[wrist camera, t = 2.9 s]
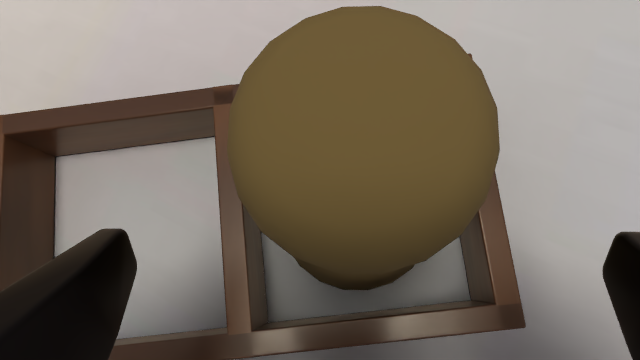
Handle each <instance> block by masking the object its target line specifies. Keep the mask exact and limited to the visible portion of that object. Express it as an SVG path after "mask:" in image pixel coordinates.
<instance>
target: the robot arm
mask: <svg viewBox="0 0 640 360" xmlns="http://www.w3.org/2000/svg"><path fill="white" fill-rule="evenodd" d="M136 271H137V262H136V258H135V255H134V252H133V249H132V246H131V243H130V240H129V237H128V235H127V233H126V231H125V230H123V229H101V230H99V231H98V232H96V233H94V234H93V235H91V236H90V237H88V238H86V239H85V240H83V241H81V242H80V243H78V244H77V245H75V246H73V247H72V248H70V249H68V250H67V251H65V252H64V253H62V254H60V255H59V256H57V257H55V258H54V259H52V260H50V261H49V262H47V263H46V264H44V265H42V266H41V267H39V268H37V269H36V270H34V271H33V272H31V273H29V274H28V275H26V276H24V277H23V278H21V279H20V280H18V281H16V282H15V283H13V284H11V285H10V286H8V287H7V288H5V289H3V290H2V291H0V360H108V359H109V357H110V354H111V352H112V349H113V347H114V344H115V341H116V338H117V335H118V332H119V329H120V325H121V322H122V319H123V315H124V312H125V309H126V305H127V302H128V299H129V296H130V292H131V289H132V286H133V282H134V279H135V276H136ZM603 279H604V282H605V285H606V287H607V290H608V293H609V296H610V299H611V302H612V304H613V307H614V310H615V313H616V316H617V319H618V321H619V324H620V327H621V330H622V333H623V335H624V338H625V341H626V344H627V346H628V349H629V352H630V354H631V357H632V359H633V360H640V232H620V233H618V234H617V235H616V236H615V238H614V240H613V242H612V245H611V247H610V250H609V252H608V255H607V257H606V260H605V262H604V265H603Z"/></svg>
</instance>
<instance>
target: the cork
mask: <svg viewBox="0 0 640 360" xmlns="http://www.w3.org/2000/svg"><path fill="white" fill-rule="evenodd" d="M499 150H500V146H499V130H498V115H497V107H496V104H495V102H494V99H493V97H492V95H491V92H490V90H489V87H488V85H487V83H486V80H485V78H484V75H483V73H482V71H481V69H480V68H479V67H478V66H477V65H476V63H475V62H474V61H473V60H472V59H471V58H470V56H469V55H468V54H467V53H466V52H465V51H464V49H463V48H462V47H461V46H460V45H459V44H458V43H457V41H456V40H455V39H453V38H452V37H450V36H449V35H447V34H445V33H444V32H442V31H440V30H439V29H437V28H436V27H434V26H432V25H431V24H429V23H428V22H426V21H424V20H423V19H421V18H419V17H418V16H415V15H411V14H408V13H404V12H400V11H396V10H393V9H389V8H385V7H382V6H365V7H341V8H337V9H334V10H331V11H328V12H325V13H321V14H318V15H315V16H312V17H308V18H306V19H304V20H302V21H301V22H299V23H298V24H296V25H295V26H293V27H291V28H290V29H288V30H287V31H285V32H284V33H282V34H281V35H279V36H278V37H276V38H275V39H273V40H272V41H270V42H269V43H268V45H267V46H266V47H265V48H264V49H263V51H262V52H261V53H260V54H259V55H258V57H257V58H256V59H255V60H254V61H253V63H252V64H251V65H250V66H249V68H248V69H247V70H246V71H245V72H244V75H243V77H242V80H241V82H240V85H239V87H238V90H237V92H236V95H235V97H234V100H233V102H232V104H231V107H230V112H229V127H228V142H227V155H228V161H229V164H230V168H231V172H232V176H233V180H234V183H235V187H236V191H237V195H238V197H239V199H240V200H241V202H242V203H243V205H244V207H245V208H246V210H247V211H248V213H249V214H250V216H251V217H252V219H253V220H254V222H255V223H256V225H257V226H258V228H259V229H260V231H261V232H262V233H264V234H265V235H266V236H267V237H269V238H270V239H271V240H273V241H274V242H275V243H276V244H278V245H279V246H280V247H282V248H283V249H284V250H285V251H287V252H288V253H289V254H291V255H292V256H293V257H294V258H295V259H296V261H297V262H298V264H299V265H300V266H301V267H302V268H303V269H305V270H306V271H307V272H309V273H310V274H311V275H312V276H314V277H315V278H316V279H317V280H319V281H321V282H324V283H326V284H329V285H332V286H335V287H338V288H340V289H345V290H370V289H373V288H376V287H380V286H383V285H386V284H389V283H392V282H394V281H395V280H396V279H398V278H399V277H401V276H402V275H403V274H405V273H406V272H407V271H409V270H410V269H412V268H413V266H414V265H415V264H416V263H419V262H423V261H426V260H427V259H428V258H430V257H431V256H433V255H434V254H435V253H437V252H438V251H439V250H441V249H442V248H444V247H445V246H446V245H448V244H449V243H451V242H452V241H453V240H455V239H456V238H457V237H459V236H460V235H462V233H463V232H464V230H465V229H466V227H467V226H468V225H469V223H470V222H471V220H472V219H473V217H474V216H475V215H476V213H477V212H478V210H479V209H480V208H481V206H482V205H483V203H484V202H485V200H486V199H487V195H488V192H489V188H490V185H491V181H492V178H493V174H494V170H495V167H496V163H497V160H498V155H499Z"/></svg>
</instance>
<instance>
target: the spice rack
mask: <svg viewBox="0 0 640 360" xmlns="http://www.w3.org/2000/svg"><path fill="white" fill-rule="evenodd" d="M468 55H469V56H470V58H471V59H472V55H471V54H468ZM472 60H473V59H472ZM239 85H240V84H236V85H226V86H218V87H212V88H205V89H198V90H190V91H182V92H175V93H167V94H160V95H152V96H144V97H137V98H129V99H122V100H114V101H106V102H99V103H91V104H83V105H76V106H68V107H61V108H53V109H45V110H38V111H30V112H22V113H15V114H7V115H0V291H2V290H3V289H5V288H7V287H8V286H10V285H11V284H13V283H15V282H16V281H18V280H20V279H21V278H23V277H24V276H26V275H28V274H29V273H31V272H33V271H34V270H36V269H37V268H39V267H41V266H42V265H44V264H46V263H47V262H49V261H50V260H52V259H53V244H54V185H55V156H62V155H70V154H78V153H85V152H93V151H101V150H109V149H117V148H125V147H133V146H140V145H148V144H156V143H164V142H172V141H180V140H188V139H196V138H203V137H211V136H215V145H216V161H217V177H218V193H219V208H220V224H221V240H222V256H223V272H224V288H225V304H226V319H227V327H225V328H216V329H207V330H198V331H189V332H180V333H171V334H162V335H153V336H144V337H135V338H126V339H117V340H116V341H115V344H114V347H113V349H112V352H111V354H110V357H109V359H108V360H232V359H241V358H250V357H259V356H268V355H278V354H287V353H296V352H306V351H315V350H324V349H333V348H343V347H352V346H361V345H370V344H380V343H389V342H398V341H408V340H417V339H426V338H435V337H445V336H454V335H463V334H473V333H482V332H491V331H500V330H510V329H519V328H525V327H526V325H525V320H524V315H523V310H522V305H521V300H520V295H519V290H518V285H517V280H516V275H515V270H514V265H513V260H512V255H511V250H510V245H509V240H508V235H507V230H506V225H505V220H504V215H503V210H502V205H501V200H500V194H499V189H498V184H497V179H496V174H495V170H494V174H493V178H492V181H491V185H490V188H489V192H488V195H487V199H486V200H485V202H484V203H483V205H482V206H481V208H480V209H479V210H478V212H477V213H476V215H475V216H474V217H473V219H472V220H471V222H470V223H469V225H468V226H467V227H466V229H465V230H464V232H463V233H462V235H460V239H461V245H462V250H463V256H464V262H465V267H466V273H467V279H468V284H469V290H470V296H471V300H469V301H460V302H451V303H442V304H433V305H424V306H415V307H406V308H397V309H388V310H379V311H370V312H361V313H352V314H343V315H334V316H325V317H316V318H307V319H298V320H289V321H279V322H270V323H268V314H267V302H266V290H265V278H264V266H263V254H262V241H261V231H260V229H259V228H258V226H257V225H256V223H255V222H254V220H253V219H252V217H251V216H250V214H249V213H248V211H247V210H246V208H245V207H244V205H243V203H242V202H241V200H240V199H239V197H238V195H237V191H236V187H235V183H234V180H233V176H232V172H231V168H230V164H229V161H228V155H227V142H228V127H229V112H230V107H231V104H232V102H233V100H234V97H235V95H236V92H237V90H238V87H239Z"/></svg>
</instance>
